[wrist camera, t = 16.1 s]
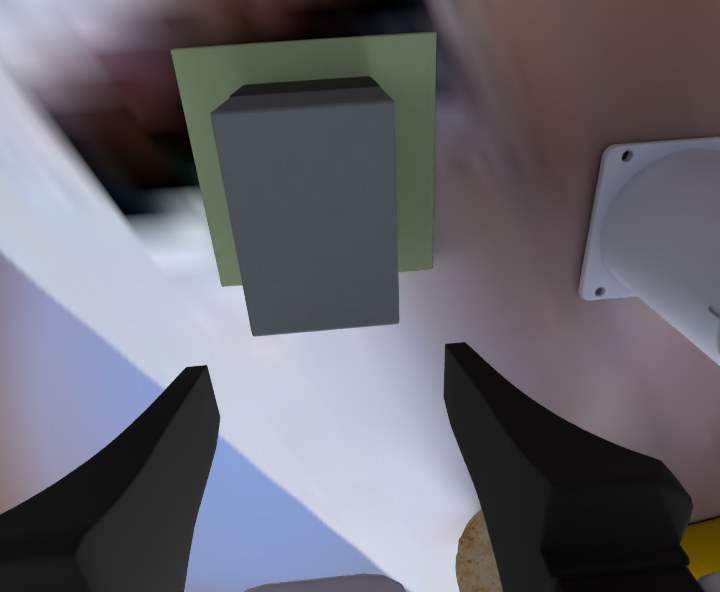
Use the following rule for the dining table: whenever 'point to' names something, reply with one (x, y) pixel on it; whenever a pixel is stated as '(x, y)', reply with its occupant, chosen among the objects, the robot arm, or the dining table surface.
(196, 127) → the base pad
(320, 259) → the grey block
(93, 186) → the dining table surface
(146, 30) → the dining table surface
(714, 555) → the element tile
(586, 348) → the dining table surface
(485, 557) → the stone disc
